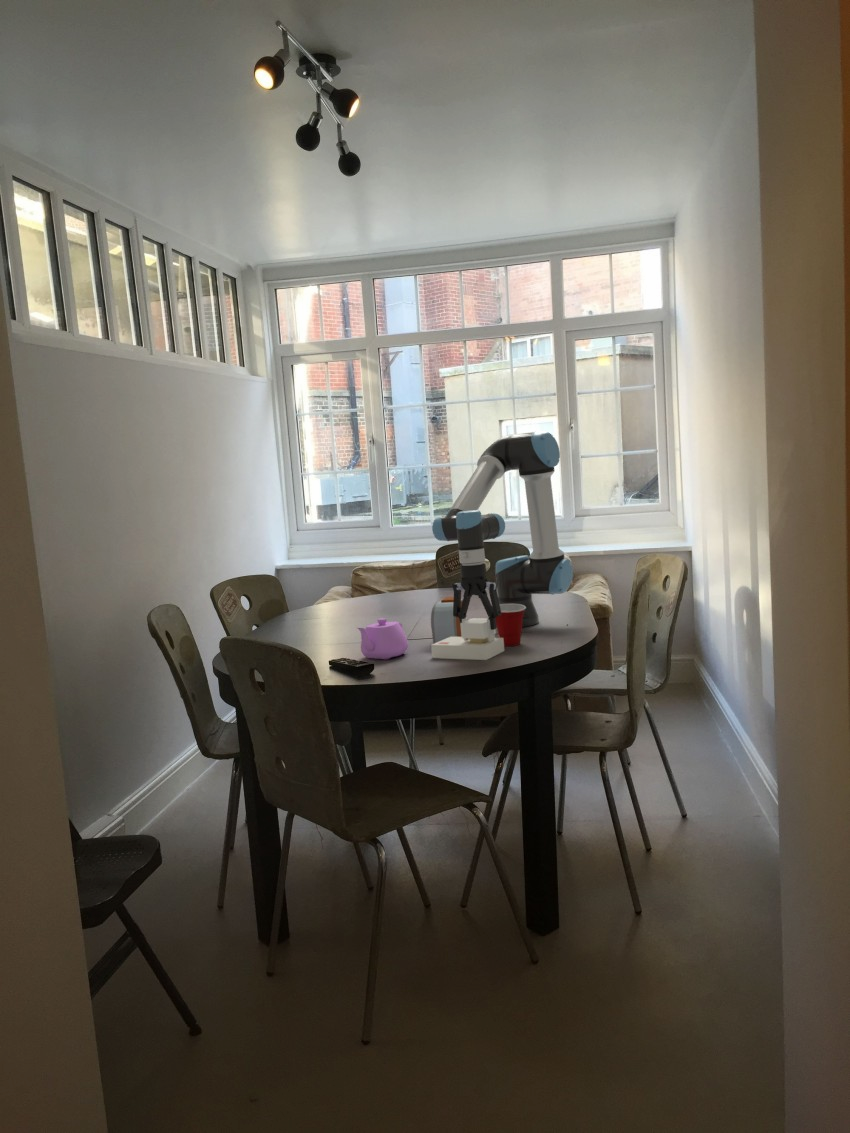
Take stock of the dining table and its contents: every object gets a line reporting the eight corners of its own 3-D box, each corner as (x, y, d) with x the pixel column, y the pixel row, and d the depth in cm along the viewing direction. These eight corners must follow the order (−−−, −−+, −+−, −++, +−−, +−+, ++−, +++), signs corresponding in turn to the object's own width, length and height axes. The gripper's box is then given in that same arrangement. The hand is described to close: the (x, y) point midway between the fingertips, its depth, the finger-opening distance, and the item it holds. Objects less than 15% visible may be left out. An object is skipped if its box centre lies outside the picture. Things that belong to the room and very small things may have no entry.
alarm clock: (444, 636, 298) (440, 596, 297) (469, 635, 296) (465, 595, 294) (432, 646, 284) (428, 604, 283) (458, 645, 282) (454, 602, 280)
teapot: (387, 649, 286) (384, 612, 285) (420, 651, 278) (416, 614, 276) (345, 663, 270) (341, 624, 269) (378, 666, 262) (374, 626, 261)
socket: (451, 649, 276) (450, 636, 276) (504, 650, 267) (503, 637, 266) (432, 658, 266) (431, 644, 266) (486, 659, 257) (485, 646, 256)
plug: (462, 648, 263) (460, 623, 262) (474, 642, 269) (472, 618, 268) (485, 648, 259) (483, 623, 258) (496, 643, 265) (494, 618, 265)
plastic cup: (510, 649, 268) (506, 610, 267) (486, 645, 277) (483, 607, 275) (536, 642, 274) (533, 604, 273) (512, 639, 283) (509, 602, 282)
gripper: (436, 566, 264) (443, 642, 266) (498, 564, 253) (504, 643, 256) (448, 562, 270) (455, 636, 272) (509, 560, 259) (515, 638, 262)
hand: (479, 640), depth 264 cm, fingers closed on plug, 7 cm apart
